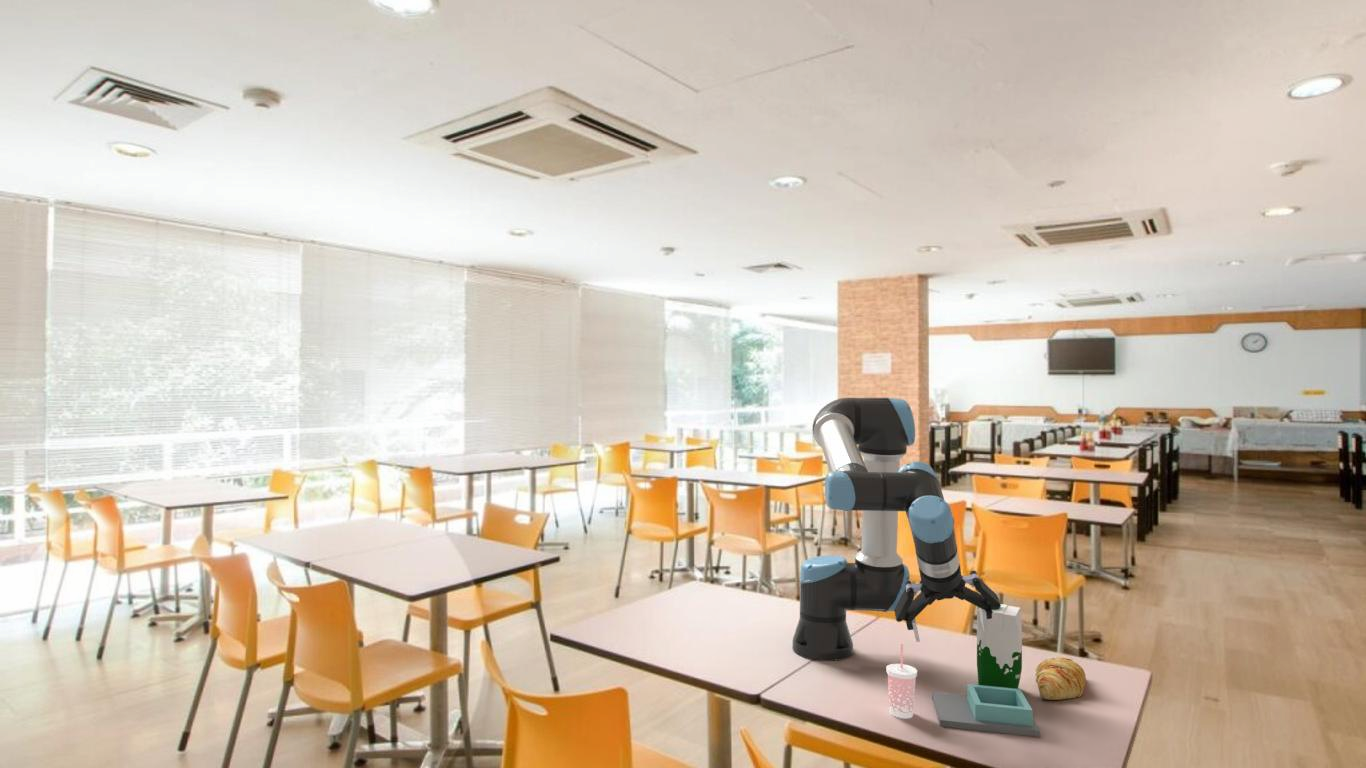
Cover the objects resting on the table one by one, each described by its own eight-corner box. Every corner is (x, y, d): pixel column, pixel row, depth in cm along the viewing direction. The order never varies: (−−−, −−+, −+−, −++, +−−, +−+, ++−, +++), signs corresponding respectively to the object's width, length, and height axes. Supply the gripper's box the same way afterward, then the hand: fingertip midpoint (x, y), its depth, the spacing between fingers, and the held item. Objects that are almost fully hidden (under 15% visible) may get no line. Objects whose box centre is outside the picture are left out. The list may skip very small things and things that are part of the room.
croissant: (1058, 723, 149) (1077, 695, 147) (1014, 688, 156) (1032, 661, 153) (1088, 692, 164) (1106, 666, 162) (1046, 661, 171) (1063, 636, 168)
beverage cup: (913, 722, 141) (914, 651, 142) (882, 715, 144) (883, 646, 145) (919, 711, 147) (920, 642, 147) (889, 704, 150) (890, 637, 150)
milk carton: (980, 678, 164) (981, 591, 164) (1024, 687, 159) (1024, 597, 160) (973, 691, 157) (974, 600, 157) (1018, 701, 152) (1019, 607, 152)
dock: (939, 726, 140) (940, 704, 140) (931, 697, 154) (931, 677, 154) (1039, 737, 136) (1039, 714, 136) (1022, 706, 149) (1022, 686, 150)
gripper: (876, 590, 136) (892, 655, 147) (1013, 569, 131) (1019, 638, 142) (870, 559, 142) (886, 624, 154) (1001, 538, 137) (1007, 607, 148)
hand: (950, 631), depth 148 cm, fingers open, 13 cm apart
